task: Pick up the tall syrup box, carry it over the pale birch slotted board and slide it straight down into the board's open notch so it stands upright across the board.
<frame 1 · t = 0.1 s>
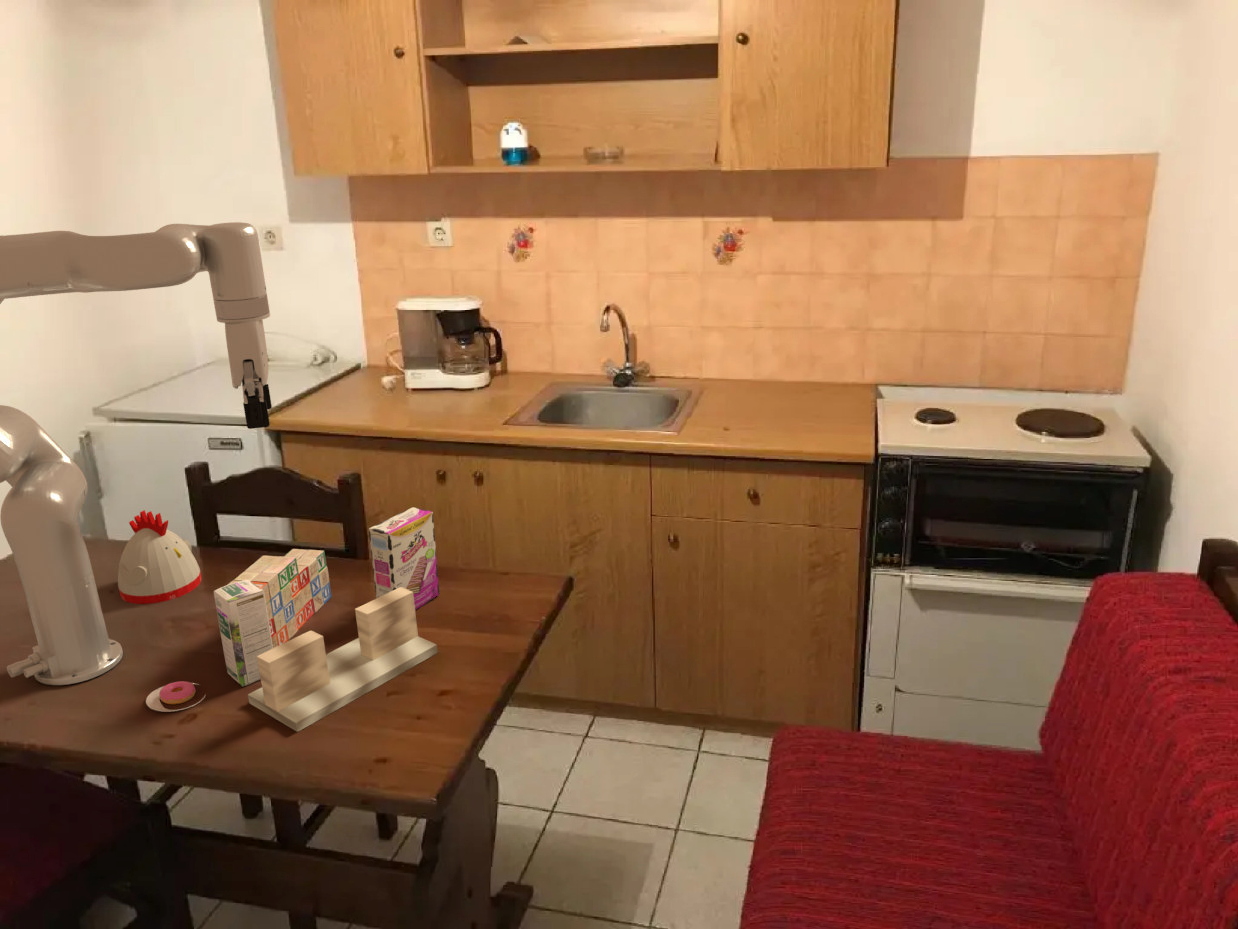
hand: (260, 418, 152), 37 cm above the table, tool pointing down, fingers open, 9 cm apart
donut: (169, 707, 146), on the table
slotted board: (347, 677, 151), on the table
stack of blocks: (285, 626, 167), on the table
syrup box: (253, 674, 153), on the table
candy bar box: (410, 606, 172), on the table
kitchen timer: (161, 587, 182), on the table
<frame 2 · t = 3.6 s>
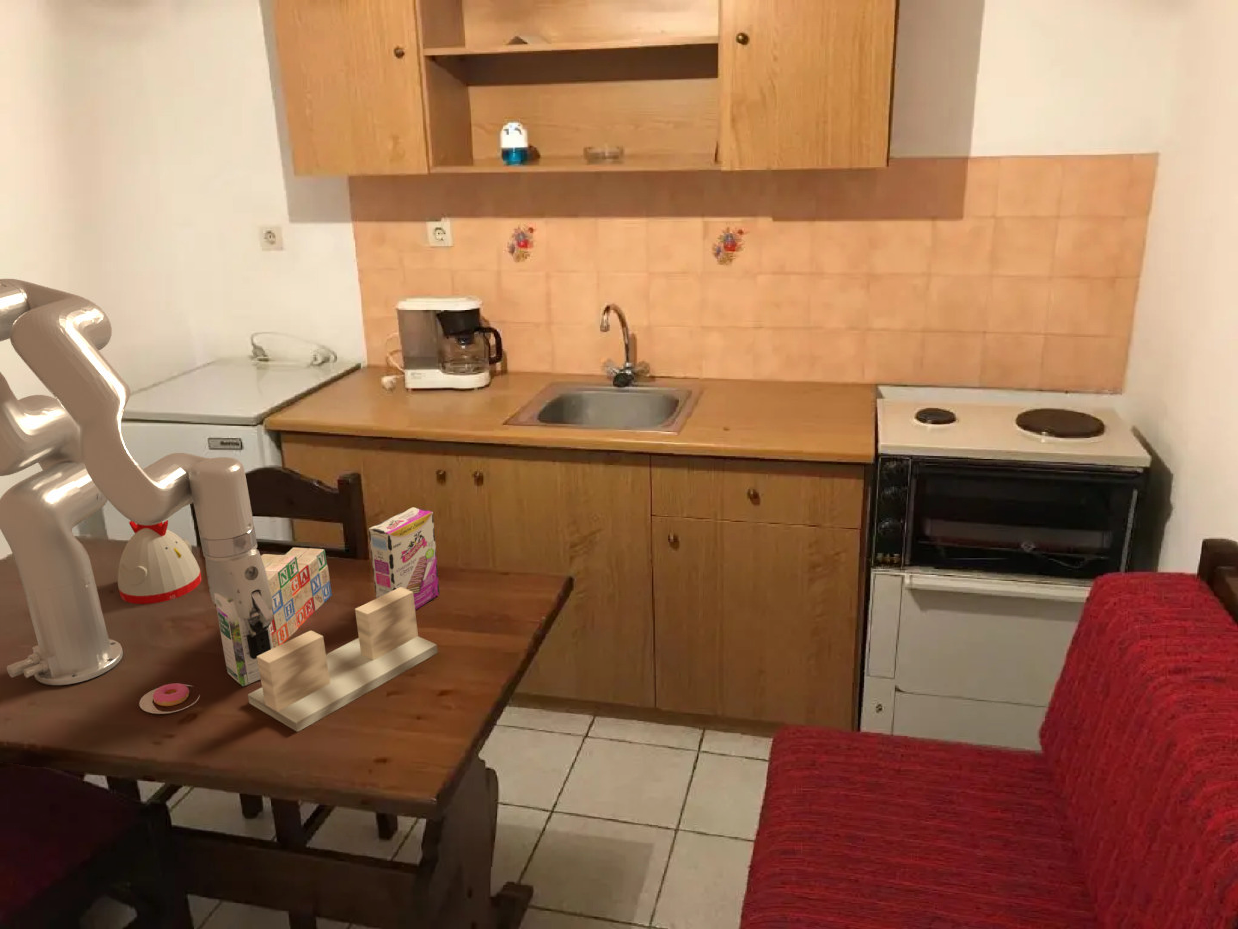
hand: (248, 647, 151), 5 cm above the table, tool pointing down, fingers closed on syrup box, 6 cm apart
syrup box: (253, 674, 153), on the table, touching gripper
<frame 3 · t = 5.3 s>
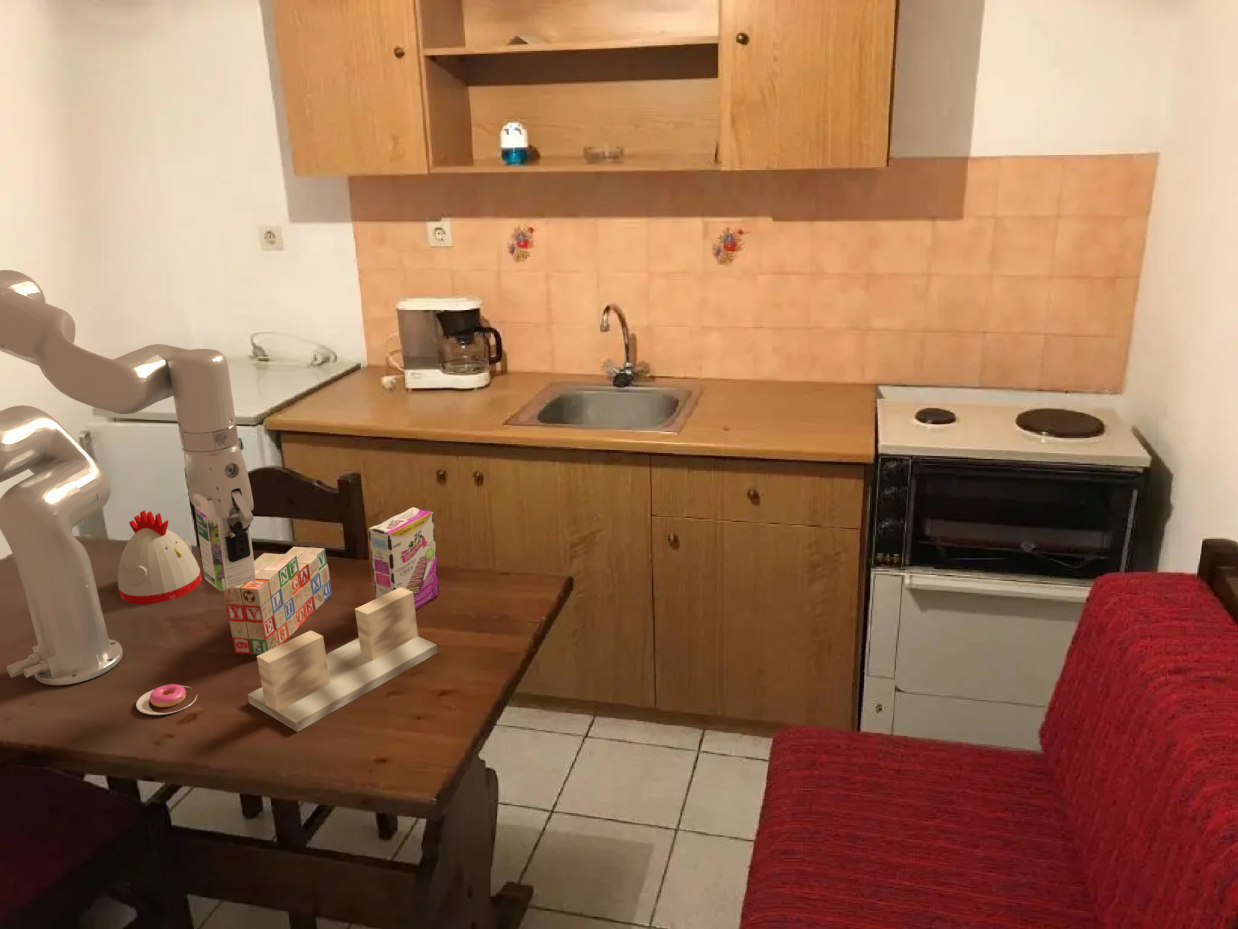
hand: (226, 551, 146), 21 cm above the table, tool pointing down, fingers closed on syrup box, 6 cm apart
syrup box: (231, 581, 147), point 16 cm above the table, touching gripper
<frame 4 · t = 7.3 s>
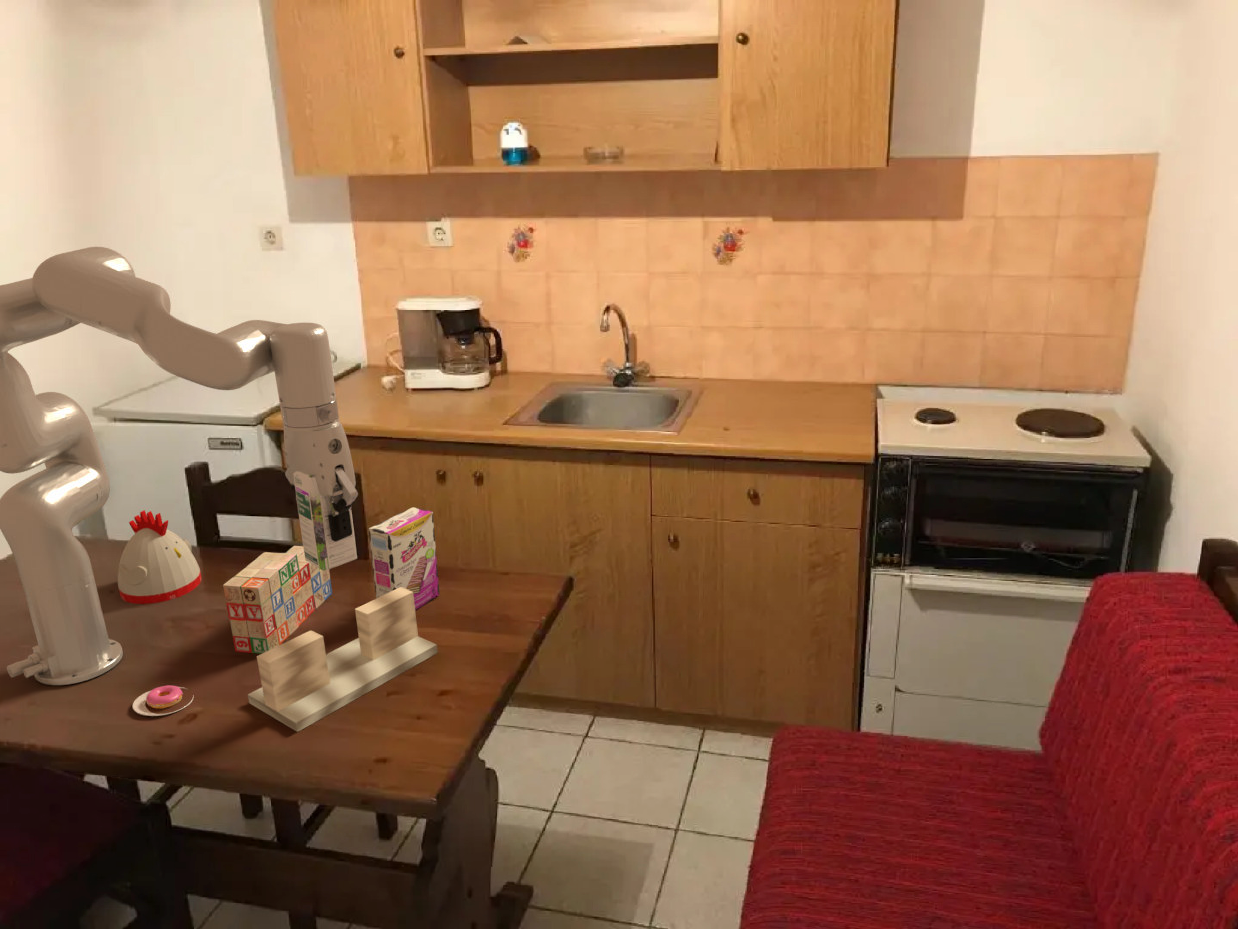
hand: (327, 531, 142), 24 cm above the table, tool pointing down, fingers closed on syrup box, 6 cm apart
syrup box: (331, 561, 144), point 20 cm above the table, touching gripper
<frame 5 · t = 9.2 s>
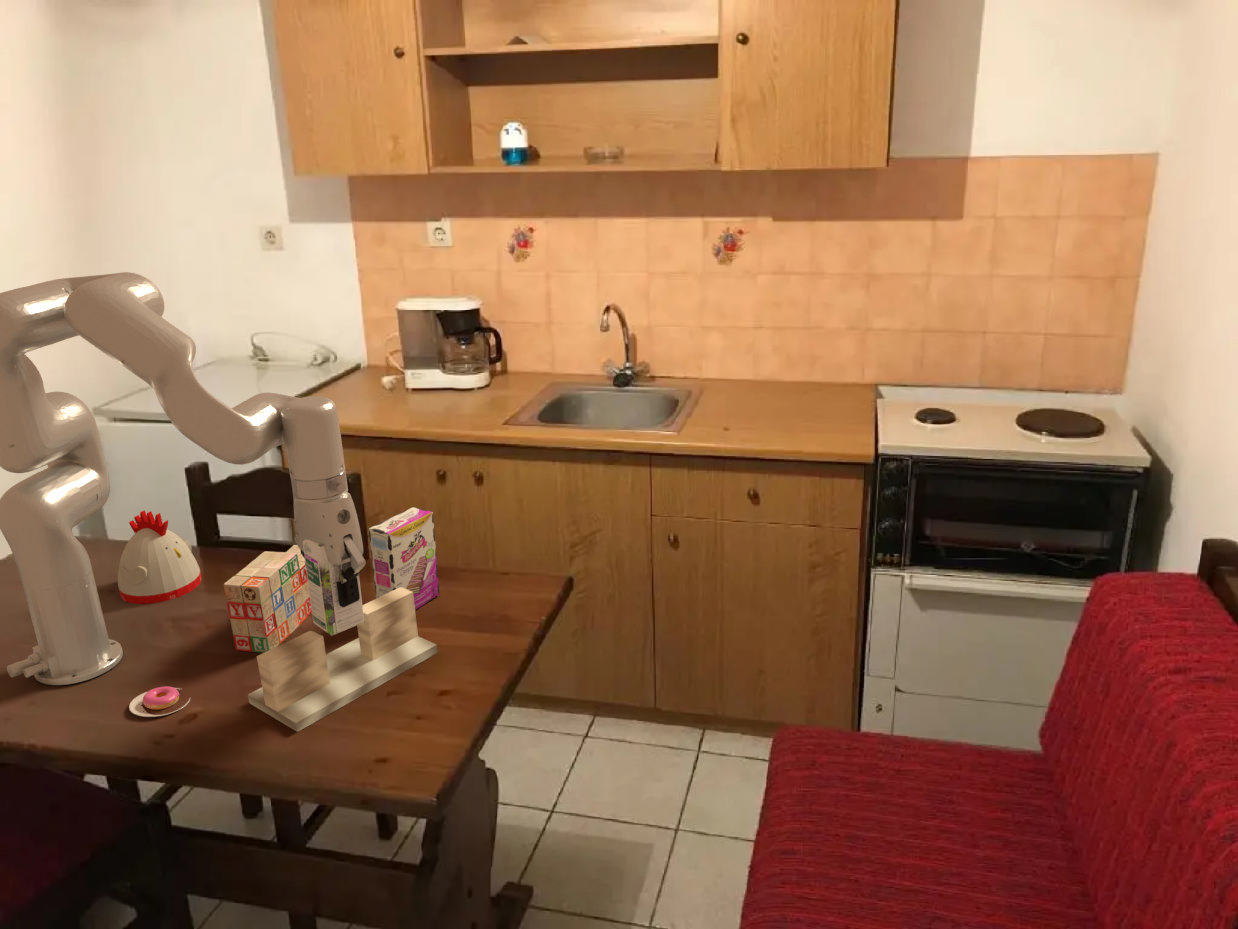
hand: (335, 596, 146), 14 cm above the table, tool pointing down, fingers closed on syrup box, 6 cm apart
syrup box: (339, 624, 148), point 9 cm above the table, touching gripper
when the fingers open (7 cm above the table, at t = 11.1 s): syrup box stays where it is, resting on slotted board.
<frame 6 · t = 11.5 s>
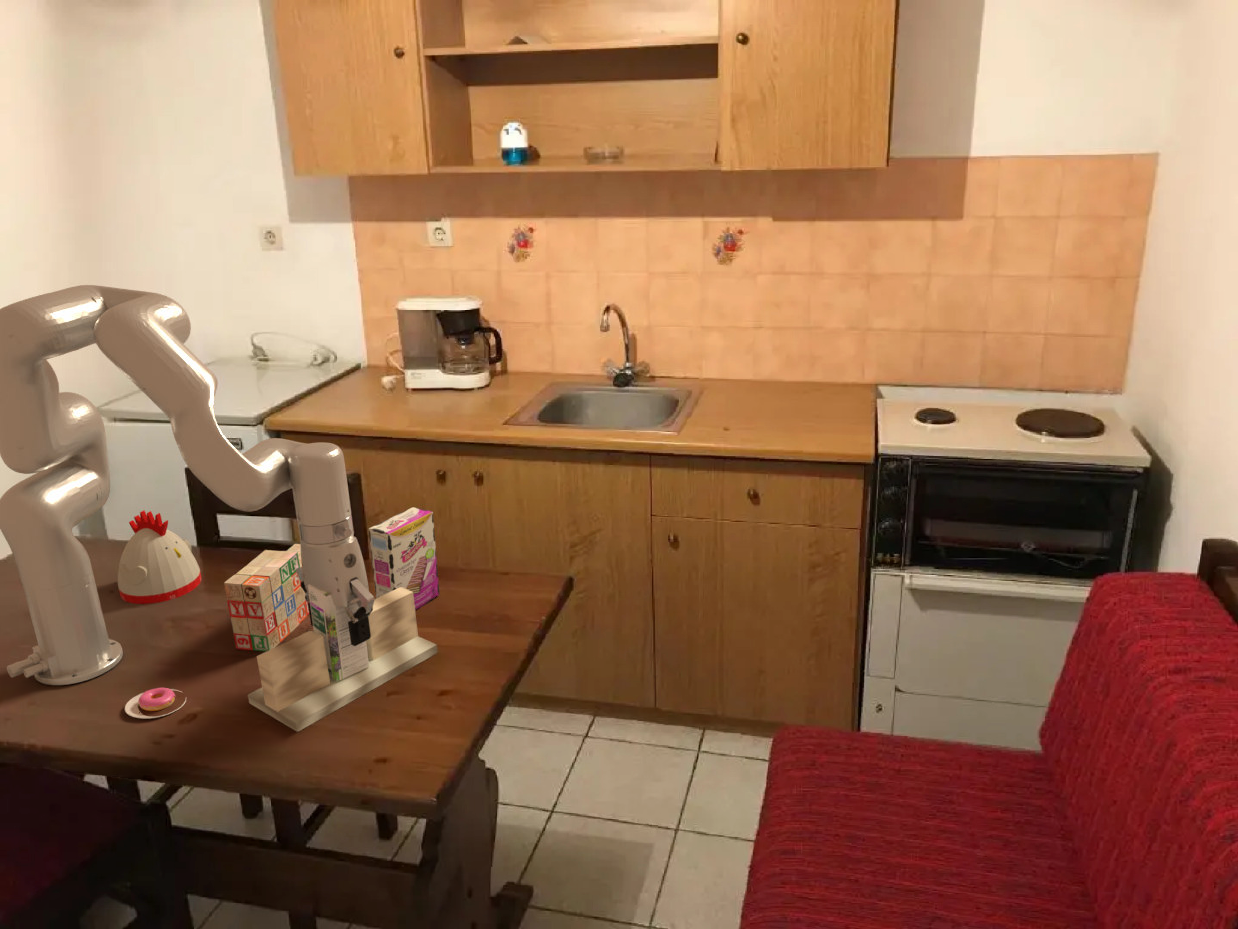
hand: (340, 632, 148), 8 cm above the table, tool pointing down, fingers open, 9 cm apart
syrup box: (344, 669, 150), point 1 cm above the table, touching slotted board
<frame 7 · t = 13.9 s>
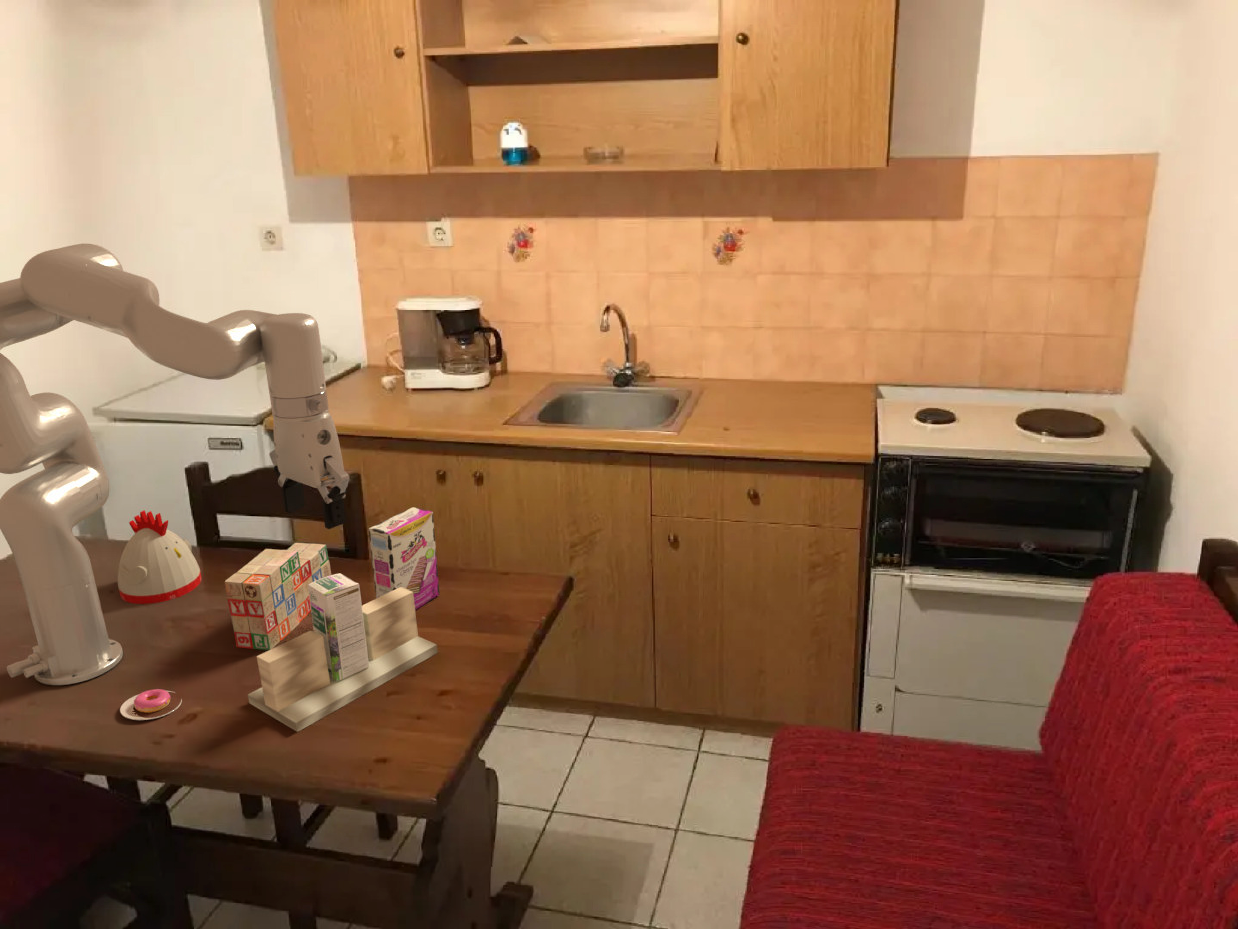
hand: (315, 517, 142), 26 cm above the table, tool pointing down, fingers open, 9 cm apart
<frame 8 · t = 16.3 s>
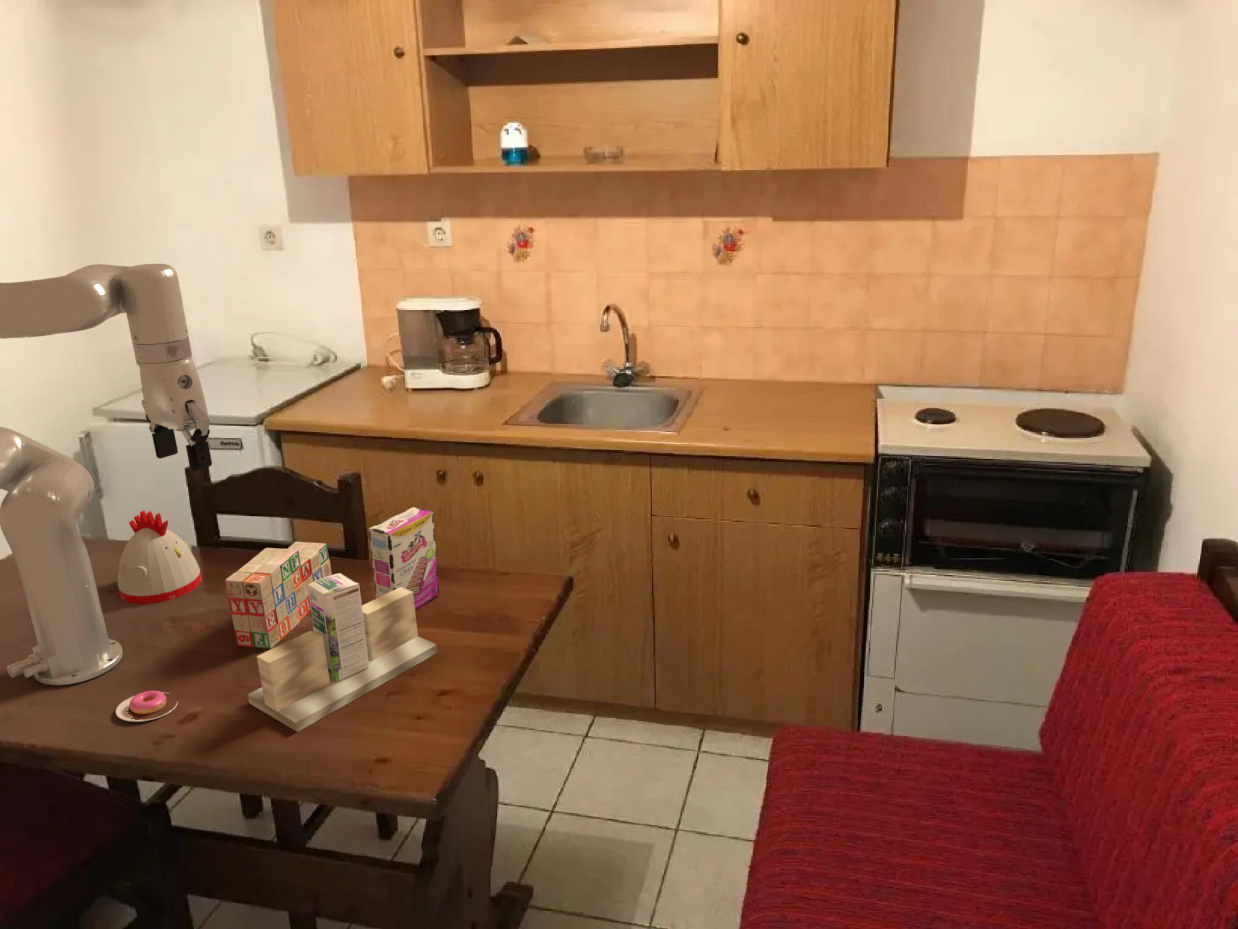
hand: (184, 462, 149), 32 cm above the table, tool pointing down, fingers open, 9 cm apart
at the end: syrup box 0.2 cm off-centre on the slotted board, point 1.3 cm above the slotted board's base; syrup box tilted 0°; the gripper is holding nothing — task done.
